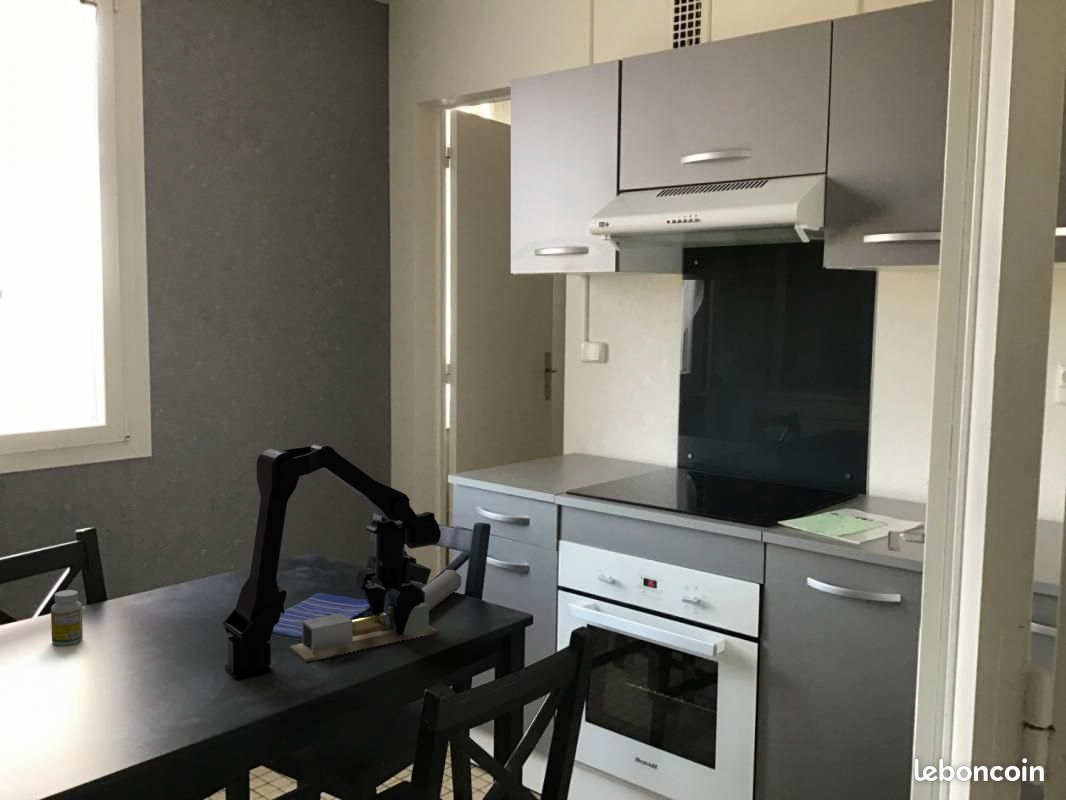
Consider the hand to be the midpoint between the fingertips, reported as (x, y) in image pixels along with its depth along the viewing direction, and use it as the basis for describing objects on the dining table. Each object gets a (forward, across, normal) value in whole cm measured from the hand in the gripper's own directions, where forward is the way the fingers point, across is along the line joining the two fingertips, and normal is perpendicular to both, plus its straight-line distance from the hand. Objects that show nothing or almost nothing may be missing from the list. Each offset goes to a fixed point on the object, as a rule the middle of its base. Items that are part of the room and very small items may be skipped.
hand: (389, 628), depth 180 cm
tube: (+2, +12, -16) cm, 20 cm away
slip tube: (0, 0, +3) cm, 3 cm away
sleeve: (+2, 0, +13) cm, 13 cm away
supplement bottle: (+2, +31, +53) cm, 62 cm away
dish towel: (+2, +17, +8) cm, 19 cm away
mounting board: (+2, 0, +5) cm, 5 cm away
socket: (+2, 0, -4) cm, 5 cm away
